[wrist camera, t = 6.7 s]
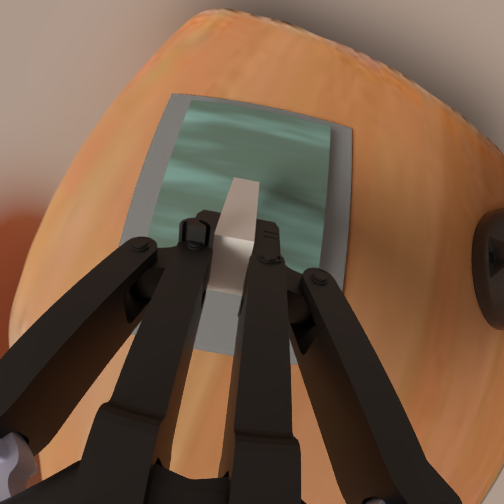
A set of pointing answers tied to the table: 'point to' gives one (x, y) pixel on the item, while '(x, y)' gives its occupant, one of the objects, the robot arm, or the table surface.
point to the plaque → (249, 174)
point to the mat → (220, 303)
